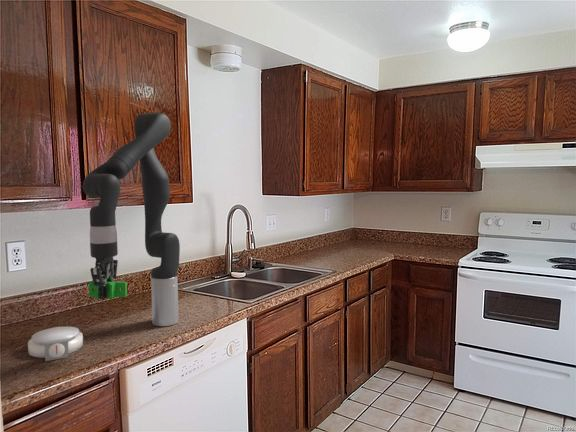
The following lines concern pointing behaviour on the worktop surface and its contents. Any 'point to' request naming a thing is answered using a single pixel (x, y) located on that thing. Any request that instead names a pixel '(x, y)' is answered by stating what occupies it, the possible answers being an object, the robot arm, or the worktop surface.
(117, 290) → the pipe clamp
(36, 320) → the worktop surface
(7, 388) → the worktop surface
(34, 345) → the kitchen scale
